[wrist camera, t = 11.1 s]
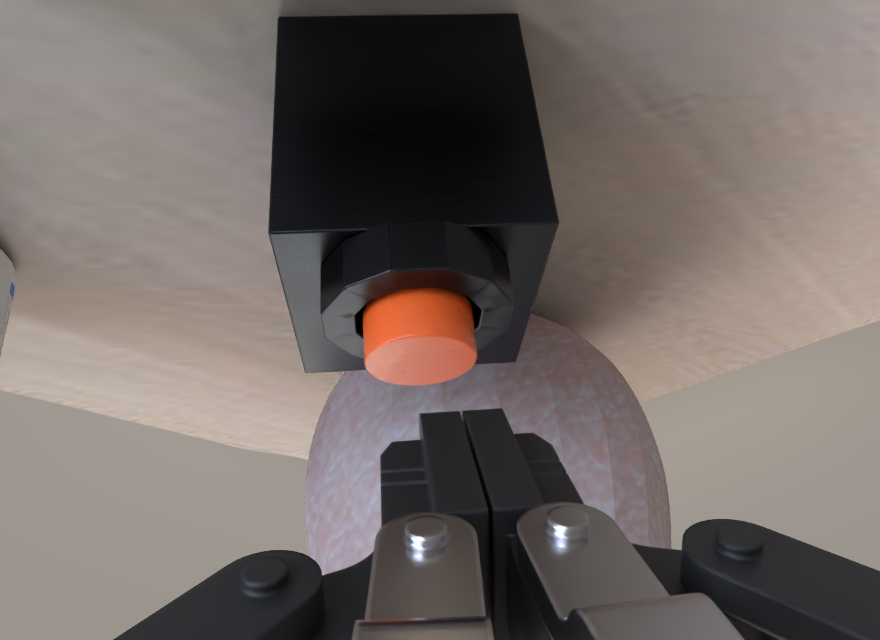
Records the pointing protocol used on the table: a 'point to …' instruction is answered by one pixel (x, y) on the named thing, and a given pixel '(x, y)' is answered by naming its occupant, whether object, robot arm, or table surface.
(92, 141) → the table surface
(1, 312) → the supplement tub
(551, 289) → the table surface
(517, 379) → the plant pot
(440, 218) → the button housing
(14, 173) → the table surface
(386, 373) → the orange push button
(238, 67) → the table surface
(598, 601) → the robot arm
